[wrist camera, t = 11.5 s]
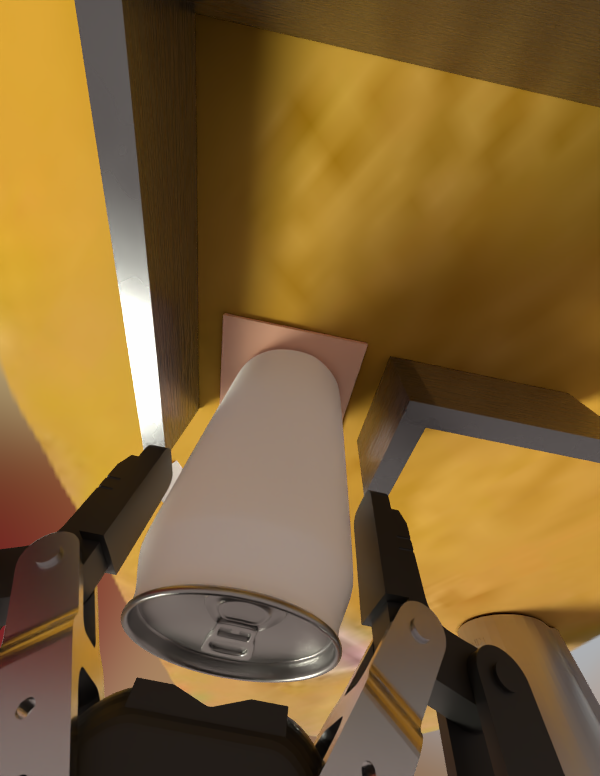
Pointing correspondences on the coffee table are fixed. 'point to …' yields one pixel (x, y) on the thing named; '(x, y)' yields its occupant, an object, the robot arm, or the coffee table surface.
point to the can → (254, 534)
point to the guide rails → (179, 193)
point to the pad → (259, 336)
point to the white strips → (173, 477)
